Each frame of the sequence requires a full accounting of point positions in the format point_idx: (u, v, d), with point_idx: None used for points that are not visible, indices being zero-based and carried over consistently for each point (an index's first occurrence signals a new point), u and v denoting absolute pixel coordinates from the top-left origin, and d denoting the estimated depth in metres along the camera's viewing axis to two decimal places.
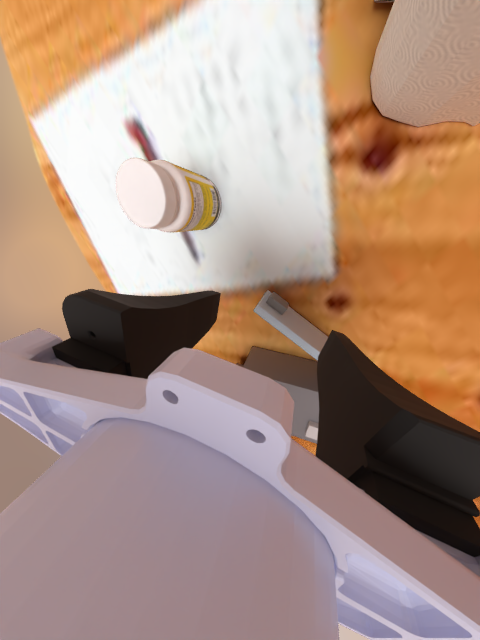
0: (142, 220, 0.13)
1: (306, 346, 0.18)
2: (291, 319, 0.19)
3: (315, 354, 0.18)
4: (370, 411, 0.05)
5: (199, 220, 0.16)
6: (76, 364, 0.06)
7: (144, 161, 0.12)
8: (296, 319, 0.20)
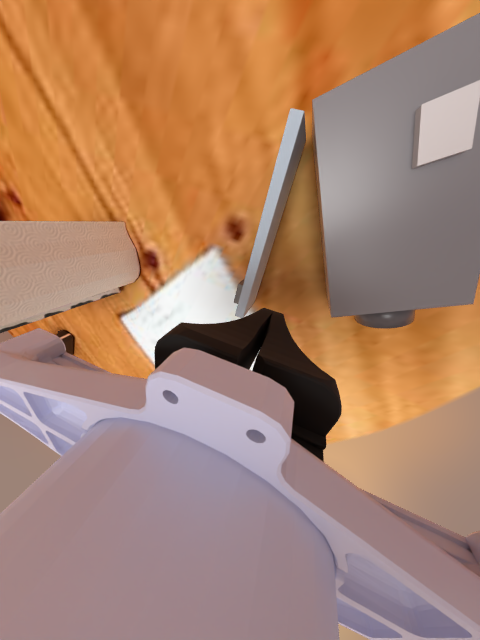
0: None
1: (256, 253, 0.15)
2: None
3: (261, 238, 0.14)
4: None
5: None
6: None
7: None
8: None
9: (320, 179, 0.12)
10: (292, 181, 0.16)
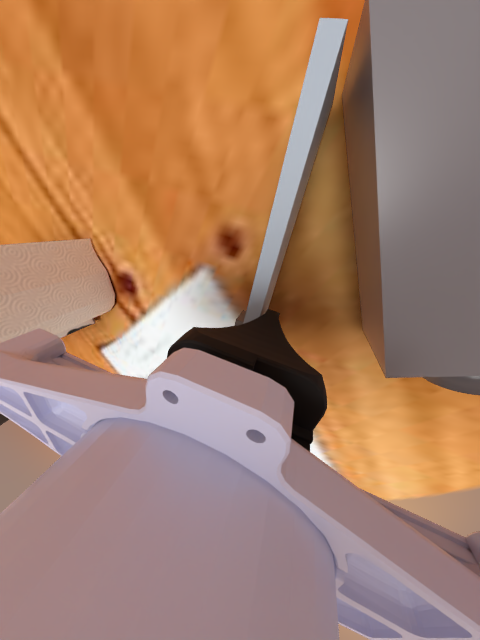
0: None
1: (260, 282, 0.10)
2: None
3: (268, 260, 0.09)
4: None
5: None
6: None
7: None
8: None
9: (378, 154, 0.06)
10: (311, 169, 0.10)
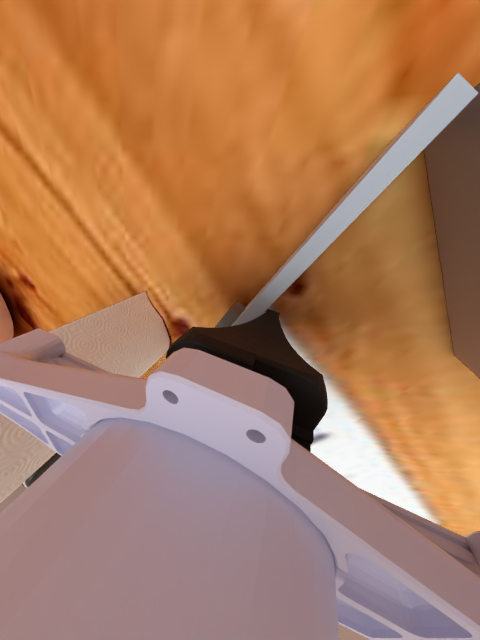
0: None
1: (272, 290, 0.10)
2: (251, 302, 0.12)
3: (290, 274, 0.09)
4: None
5: None
6: None
7: None
8: (259, 292, 0.13)
9: None
10: None
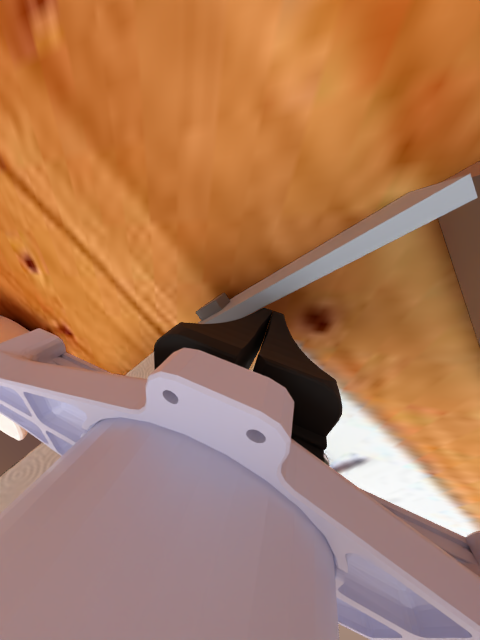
0: None
1: (261, 298, 0.10)
2: (237, 299, 0.13)
3: (281, 289, 0.10)
4: None
5: None
6: None
7: None
8: (247, 291, 0.13)
9: None
10: None
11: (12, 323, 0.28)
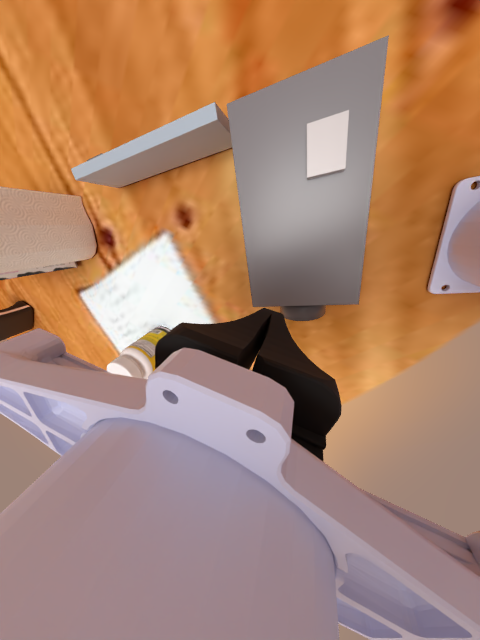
0: None
1: (121, 152, 0.15)
2: None
3: (132, 148, 0.14)
4: None
5: (150, 342, 0.25)
6: None
7: (107, 370, 0.22)
8: None
9: (237, 178, 0.13)
10: (210, 153, 0.16)
11: None
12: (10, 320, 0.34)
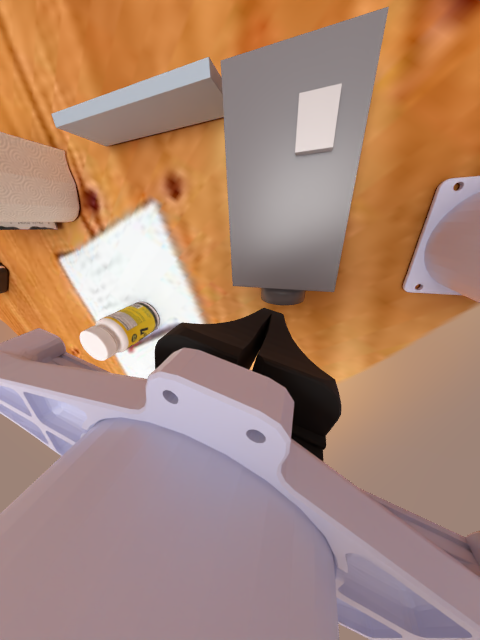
0: (103, 349, 0.21)
1: (107, 101, 0.14)
2: None
3: (119, 98, 0.13)
4: None
5: (128, 315, 0.24)
6: None
7: None
8: None
9: (226, 146, 0.12)
10: (204, 120, 0.16)
11: None
12: None
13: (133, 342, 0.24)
